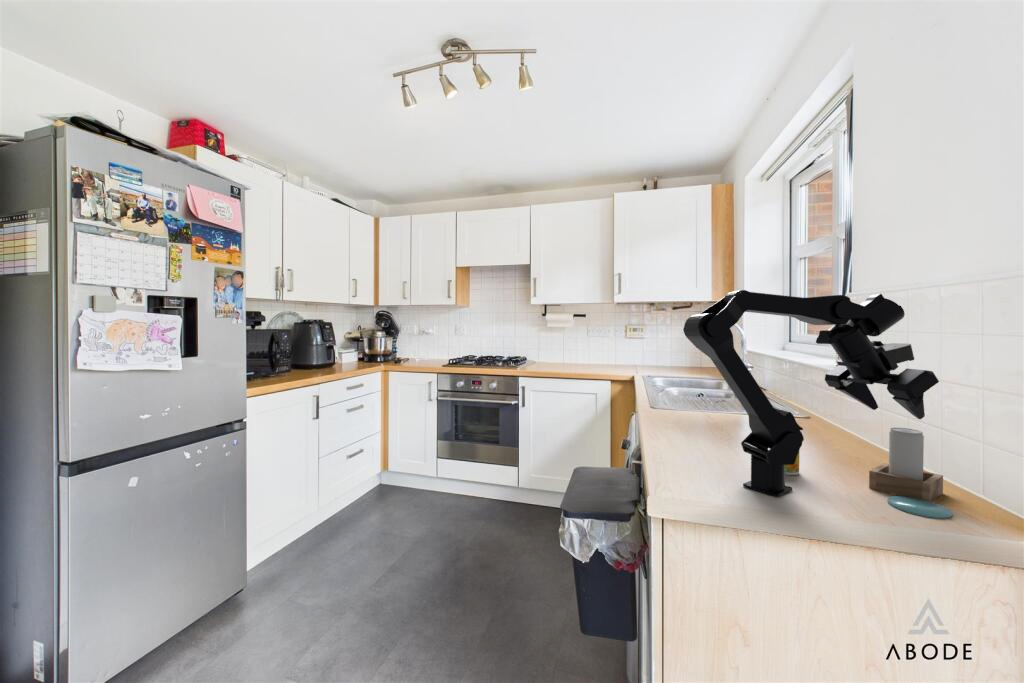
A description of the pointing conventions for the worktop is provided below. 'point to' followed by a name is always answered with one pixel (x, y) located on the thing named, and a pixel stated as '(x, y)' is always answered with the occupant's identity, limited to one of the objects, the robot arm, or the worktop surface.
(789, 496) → the worktop surface
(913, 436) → the beverage can
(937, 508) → the teal disc
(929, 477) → the square wooden frame
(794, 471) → the supplement bottle
